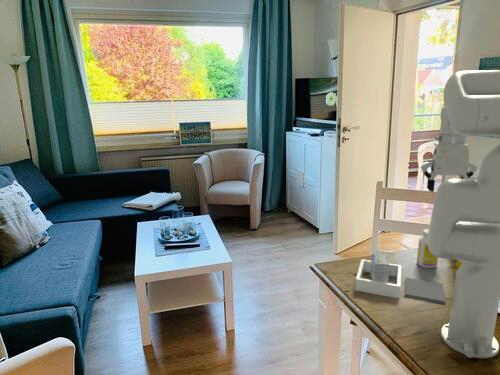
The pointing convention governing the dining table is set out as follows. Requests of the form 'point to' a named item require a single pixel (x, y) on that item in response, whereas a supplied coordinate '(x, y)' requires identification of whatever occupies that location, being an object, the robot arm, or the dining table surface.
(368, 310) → the dining table surface
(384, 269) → the medicine box
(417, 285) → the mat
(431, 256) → the supplement bottle
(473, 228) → the robot arm
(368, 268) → the bin
